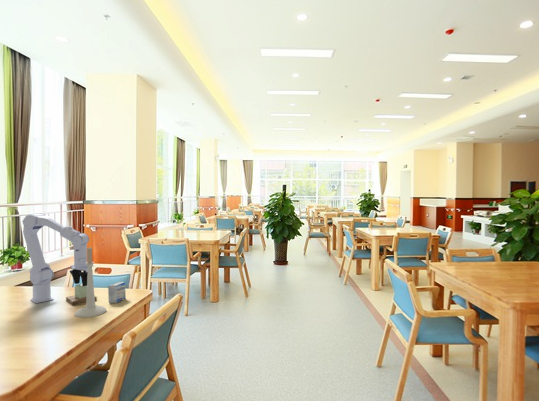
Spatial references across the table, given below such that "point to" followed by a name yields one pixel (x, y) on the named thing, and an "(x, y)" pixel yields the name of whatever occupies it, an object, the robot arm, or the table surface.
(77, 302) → the walnut block
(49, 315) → the table surface
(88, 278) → the candlestick
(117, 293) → the medicine box
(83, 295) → the sage block
